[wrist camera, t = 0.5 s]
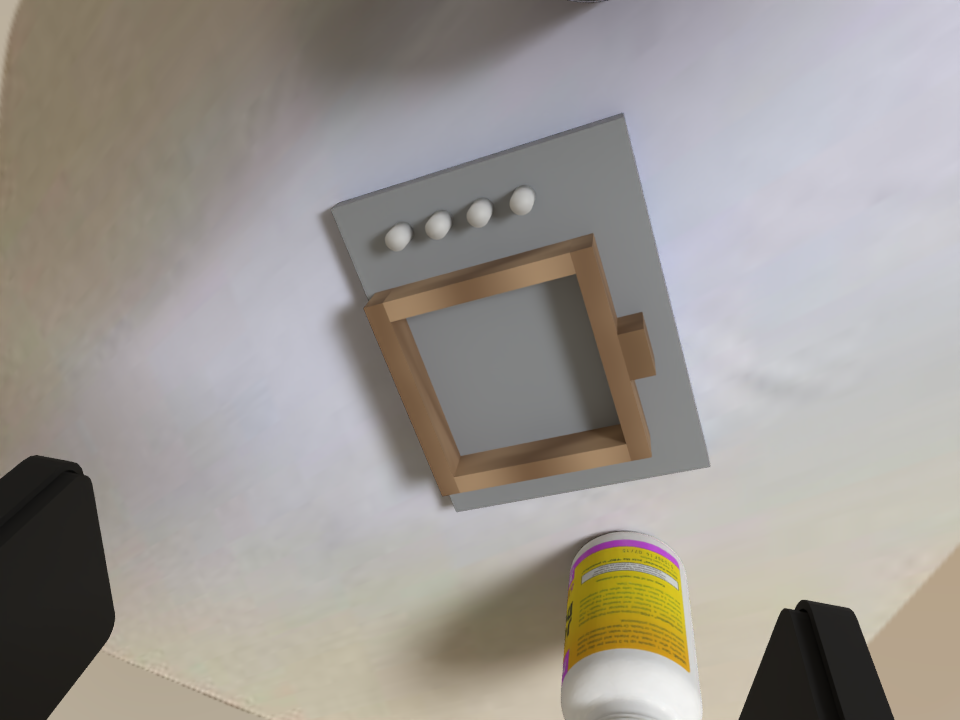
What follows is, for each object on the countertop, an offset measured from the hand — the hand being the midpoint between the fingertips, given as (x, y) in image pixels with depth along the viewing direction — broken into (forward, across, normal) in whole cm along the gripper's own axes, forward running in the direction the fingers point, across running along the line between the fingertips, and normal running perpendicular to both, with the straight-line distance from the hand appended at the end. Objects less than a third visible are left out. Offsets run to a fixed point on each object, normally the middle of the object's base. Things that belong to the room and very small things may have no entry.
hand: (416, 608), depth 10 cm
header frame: (+26, +1, +10) cm, 28 cm away
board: (+27, 0, +8) cm, 29 cm away
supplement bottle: (+27, -7, +23) cm, 36 cm away
